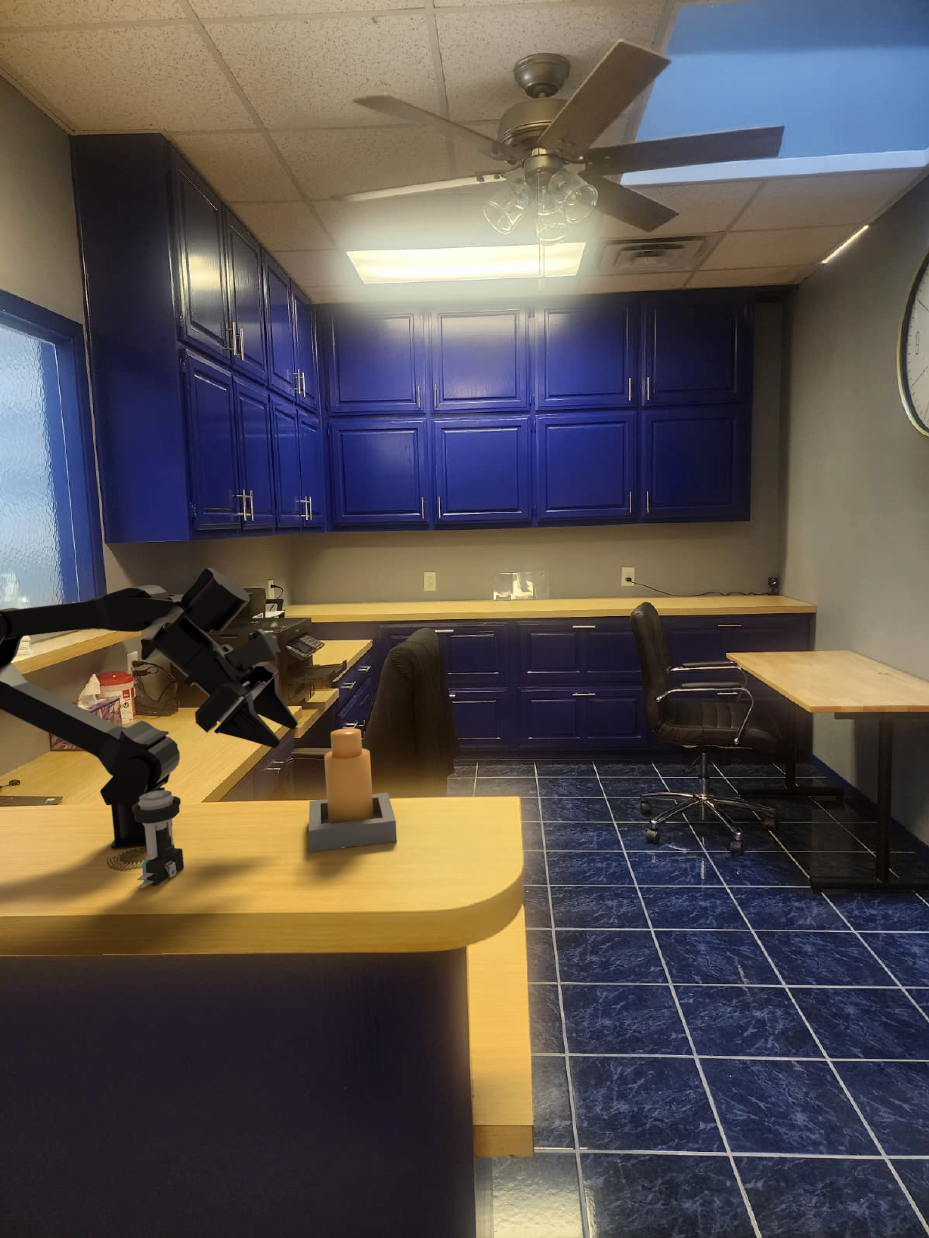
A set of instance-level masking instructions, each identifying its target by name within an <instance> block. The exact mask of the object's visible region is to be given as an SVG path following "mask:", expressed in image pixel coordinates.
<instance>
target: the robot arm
mask: <svg viewBox="0 0 929 1238" xmlns="http://www.w3.org/2000/svg"><path fill="white" fill-rule="evenodd" d="M250 600H251V598H250V595H249V594H248V593H247V590H245V589H244V588H243V587H242V586H241V585H240V584H239V583H238V582H236V581H233V580H232V579H230V578H229V577H227V576H226V575H224V574H222V573H220V572H218V571H217V570H215V569H214V567H206V568H204V569H203V571H202V572H200V574H199V576H198V578H197V580H196V581H195V582H194V583H193V584H192V585H191V586H190V587H189V589H188V590H187V591H186V592H185V594H184V593H181V594H175V593H174V594H173V593H168V591H167V590H165V589H164V588H162V586H160V585H156V584H145V585H139V586H133V587H126V588H122V589H119V590H117V591H112V592H110V593H107V594H103V595H101V596H98V597H95V598H92V599H90V600H83V601H75V602H66V603H57V604H50V605H40V606H34V607H23V608H17V607H9V608H2V609H0V710H1V711H2V712H4V713H7V714H8V715H11V716H13V717H15V718H17V719H19V720H20V721H23V722H25V723H27V724H30V725H31V726H33V727H35V728H37V729H39V730H41V731H44V732H45V733H47V734H50V735H51V736H54V737H56V738H58V739H60V740H61V741H63V742H66V743H68V744H69V745H71V746H74V747H75V748H79V749H81V750H82V751H84V752H86V753H89V754H91V756H94V757H96V758H97V759H98V760H99V762H100V763H101V764H102V766H103V767H104V769H105V770H106V771H107V773H108V774H109V775H110V776H111V778H110V779H109V780H108V781H107V783H105V784H104V785H103V787H102V788H101V789H100V791H99V793H100V795H101V797H102V800H103V801H104V804H105V805H106V806H110V807H111V817H112V826H113V836H114V840H113V841H112V842H111V844H110V848H111V849H121V848H123V849H124V848H132V847H138V846H139V847H140V846H147V844H146V834H145V826H144V825H143V823H140V822H136V820H135V815H134V813H133V812H132V806H133V805H134V804H136V803H137V802H140V798H139V797H140V796H142V795H144V794H146V793H149V792H153V791H161V790H166V787H165V786H164V785H166V784H168V783H169V780H170V777H171V773H172V772H174V771H175V770H176V769H177V767H178V766H179V763H180V760H181V756H180V755H181V754H180V753H181V752H180V750H179V747H178V743H177V742H176V741H175V740H174V739H172V738H171V737H169V736H167V735H169V731H168V730H161V729H158V728H156V727H154V726H153V725H151V724H150V723H149V722H147V721H145V720H142V719H141V720H139V721H137V722H136V723H133V724H132V725H130V726H128V727H123V726H120V725H117V724H115V723H114V722H111V721H109V720H108V719H107V720H106V719H105V718H102V717H100V716H98V715H97V714H96V713H93V712H90V711H88V710H86V709H84V708H83V707H80V706H78V705H76V704H74V703H72V702H70V701H68V700H66V699H64V698H63V697H60V696H58V695H56V694H54V693H52V692H50V691H48V690H46V689H43V688H42V687H39V686H38V685H36V684H34V683H32V682H29V681H28V680H27V679H25V678H24V676H23V675H22V674H21V672H20V670H19V669H18V668H17V666H16V665H15V664H13V660H14V659H15V658H16V656H17V655H18V652H19V647H20V646H21V642H22V639H23V638H24V637H27V636H37V635H44V634H45V635H46V634H53V633H61V632H69V631H79V630H87V629H88V630H89V629H98V630H105V631H109V632H126V633H129V632H130V633H138V632H142V631H146V630H149V629H153V628H156V627H160V626H161V627H160V628H159V629H158V630H157V631H156V632H155V634H153V636H152V637H150V636H148V637H144V638H141V640H140V644H141V653H140V654H141V655H140V658H141V660H143V661H147V660H150V659H151V658H152V659H153V658H154V657H157V656H158V655H159V654H161V656H162V657H163V658H165V659H167V660H168V661H169V662H170V663H171V664H172V665H173V666H174V667H175V668H177V670H179V671H180V672H181V673H182V674H183V675H184V676H185V677H186V678H185V679H184V680H183V683H185V684H186V685H187V686H189V687H191V686H193V685H196V686H197V687H198V688H199V689H200V690H201V691H202V692H204V693H205V694H206V695H207V696H208V698H207V699H206V700H205V701H204V702H203V703H202V704H201V705H200V706H199V708H197V710H196V711H194V718H195V724H196V725H197V726H198V727H200V728H201V729H202V730H203V731H204V732H205V733H209V732H211V731H212V730H214V731H213V733H214V734H216V735H218V734H222V735H226V736H231V737H233V738H234V737H235V738H238V739H242V740H245V741H248V742H253V743H256V744H259V745H262V746H266V747H269V748H271V749H276V748H278V747H279V745H280V744H281V740H280V738H279V737H278V736H277V735H276V733H275V731H273V730H272V729H271V728H270V727H269V725H268V724H267V723H266V722H265V721H264V719H263V718H265V719H267V720H269V721H272V722H274V723H276V724H279V725H280V726H282V727H285V728H288V729H291V730H294V729H296V728H297V726H298V725H299V723H298V721H297V719H296V718H295V716H294V714H293V713H292V711H291V710H290V708H289V707H288V705H287V704H286V702H285V700H284V699H283V697H282V695H281V694H280V692H279V679H280V675H279V674H277V673H278V672H279V669H278V668H276V667H275V665H273V664H272V663H271V662H270V661H266V660H269V659H271V658H273V657H274V656H276V655H277V654H280V653H281V652H282V651H281V650H280V647H279V646H278V644H277V641H278V637H277V636H275V635H273V634H272V632H271V631H266V630H263V629H262V628H259V629H256V630H255V631H253V632H252V633H249V634H248V637H247V638H248V641H247V642H246V643H243V644H241V645H239V646H238V647H236V648H233V647H232V646H231V645H229V644H222V645H219V644H218V643H217V642H216V641H215V640H214V639H212V638H211V637H210V636H209V635H208V634H207V633H212V632H213V631H215V632H219V633H220V632H221V633H222V632H223V631H224V630H225V629H226V628H227V627H228V625H229V624H230V623H231V622H232V620H234V619H235V618H236V616H237V615H238V614H239V613H240V612H241V611H242V609H244V607H245V606H246V605H247V604H248V603H249V602H250ZM177 614H180V615H179V616H178V617H177V618H176V620H175V621H173V622H168V621H169V619H170V618H171V617H172V615H177ZM264 661H265V662H264ZM262 717H263V718H262ZM218 722H219V725H218ZM217 725H218V726H217ZM216 726H217V727H216ZM214 728H215V729H214ZM163 786H164V787H163ZM171 824H172V825H173V819H172V820H171Z"/></svg>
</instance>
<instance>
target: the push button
mask: <svg viewBox="0 0 929 1238" xmlns="http://www.w3.org/2000/svg"><path fill="white" fill-rule="evenodd" d="M139 798H140V802H137V803H136V804H134V805H133V806H132V812H133V813H134V815H135V820H136V822H140V823H143V825H144V826H145V834H146V844H147V845H146V849H145V850H146V860H144V861H143V862H142V863H141V868H142V875H141V876H140V877H138V878H136V880H137V881H142V883H141V884H139V885H138V886H137V888H140V889H145V888H146V887H147V886H148V885H153V886H159V885H160V884H161V883H163V882H164V881H165V880H167V879H169V878H173V877H175V876H176V874H177V872H181V871H183V869H184V867H185V864H184V863H185V862H184V853H183V852H184V851H183V848H179V847H178V848H177V847H175V842H174V838H173V836H174V835H173V823H172V824H171V820H172V821H173V819H174V818H175V817H176V816H177V815H179V814H180V812H181V811H180V805H181V802H182V801H181V800H182V799H181V798H180V797H178V796H175V795H173V794H172V791H170V790H166V789H165V790H161V791H153V792H149V793H146V794H144V795H142V796H140V797H139Z"/></svg>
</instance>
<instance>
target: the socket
mask: <svg viewBox="0 0 929 1238" xmlns="http://www.w3.org/2000/svg"><path fill="white" fill-rule="evenodd" d="M372 800H373V817H374V819H368V820H359V821H351V822H342V823H333V824H329V819H328V804H327V798H325V799H316V800H309V809H308V810H309V812H308V814H309V815H308V841H309V852H310V853H313V852H321V851H320V850H323V851H329V850H328V849H331V850H338V848H339V849H343V848H342V847H348V848H352V847H351V846H356V847H359V846H358V845H364V846H371V845H380V844H387V843H395V842H398V840H397V839H398V838H397V821H396V817H395V813H394V809H393V807H392V804H391V800H390V796H389V792H382V793H381V792H380V793H372Z"/></svg>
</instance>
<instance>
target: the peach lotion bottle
mask: <svg viewBox="0 0 929 1238" xmlns="http://www.w3.org/2000/svg"><path fill="white" fill-rule="evenodd" d="M362 742H363V741H362V730H361V729H359V728H354V727H353V728H352V727H351V728H340V729H339V728H338V729H336V730H333V731H331V732H330V746H331V750H330V751H328V752H327V753H325V754H324V756H323V757H324V770H325V772H324V773H325V784H326V785H325V787H326V788H325V789H326V799H327V804H328V819H329V824H333V823H342V822H351V821H359V820H368V819H374V817H373V800H372V794H373V789H372V788H373V787H372V772H371V771H372V768H371V767H372V766H371V752H370V750H369V749H366V748H363V743H362Z"/></svg>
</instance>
